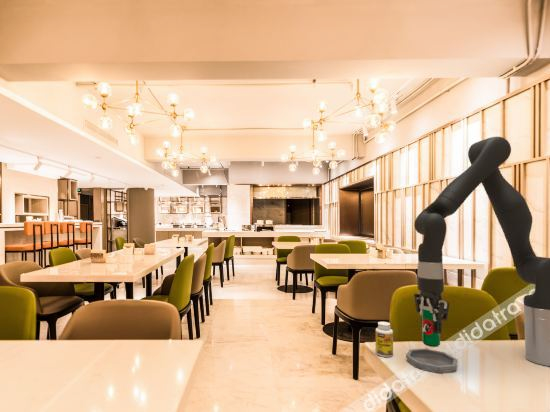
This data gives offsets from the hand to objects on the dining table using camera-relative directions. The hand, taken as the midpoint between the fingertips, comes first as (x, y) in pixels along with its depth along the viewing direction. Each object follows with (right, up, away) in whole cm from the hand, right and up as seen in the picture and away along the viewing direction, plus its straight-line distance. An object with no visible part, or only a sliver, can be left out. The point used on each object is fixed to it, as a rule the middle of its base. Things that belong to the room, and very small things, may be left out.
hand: (431, 330), depth 103 cm
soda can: (0, -5, 0) cm, 5 cm away
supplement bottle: (-13, -11, +6) cm, 18 cm away
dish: (0, -10, -1) cm, 10 cm away
